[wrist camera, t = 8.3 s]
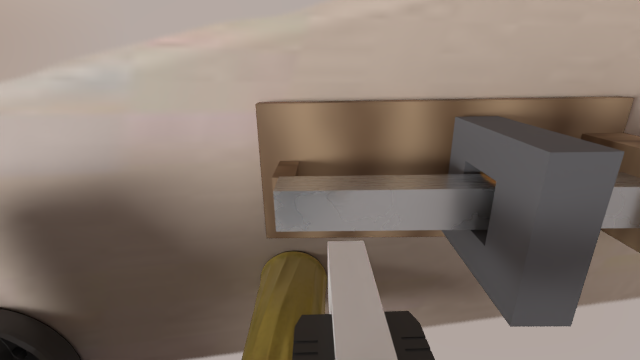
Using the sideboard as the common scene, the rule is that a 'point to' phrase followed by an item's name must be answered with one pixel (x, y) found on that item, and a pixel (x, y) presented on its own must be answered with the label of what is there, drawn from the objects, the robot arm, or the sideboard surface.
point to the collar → (533, 215)
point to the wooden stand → (416, 141)
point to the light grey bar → (412, 202)
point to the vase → (284, 304)
